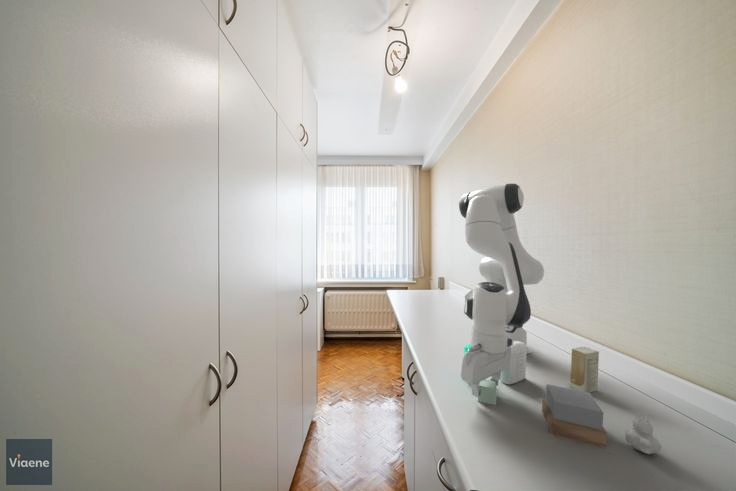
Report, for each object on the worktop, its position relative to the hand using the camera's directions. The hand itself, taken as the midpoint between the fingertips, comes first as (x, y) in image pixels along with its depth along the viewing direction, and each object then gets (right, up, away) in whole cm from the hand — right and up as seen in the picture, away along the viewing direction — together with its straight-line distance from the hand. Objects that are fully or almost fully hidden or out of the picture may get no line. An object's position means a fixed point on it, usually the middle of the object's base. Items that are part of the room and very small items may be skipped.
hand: (485, 390), depth 78 cm
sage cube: (0, -3, 0) cm, 3 cm away
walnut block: (+16, -4, -11) cm, 20 cm away
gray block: (+16, 0, -11) cm, 19 cm away
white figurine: (+26, -4, -18) cm, 32 cm away
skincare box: (+34, -4, +8) cm, 35 cm away
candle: (+1, -3, +11) cm, 11 cm away
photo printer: (+14, -3, +12) cm, 19 cm away
